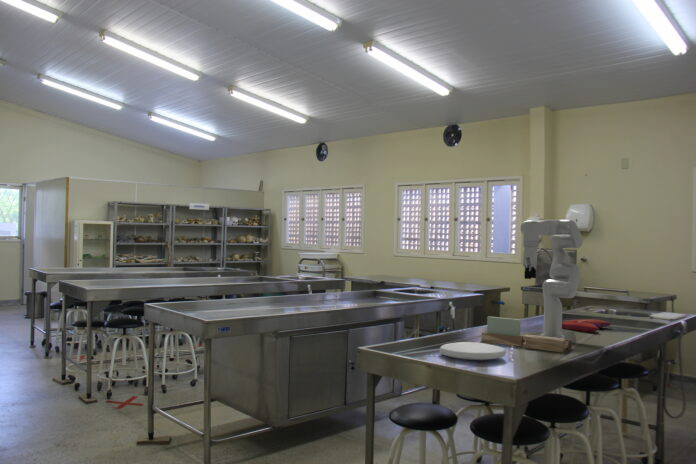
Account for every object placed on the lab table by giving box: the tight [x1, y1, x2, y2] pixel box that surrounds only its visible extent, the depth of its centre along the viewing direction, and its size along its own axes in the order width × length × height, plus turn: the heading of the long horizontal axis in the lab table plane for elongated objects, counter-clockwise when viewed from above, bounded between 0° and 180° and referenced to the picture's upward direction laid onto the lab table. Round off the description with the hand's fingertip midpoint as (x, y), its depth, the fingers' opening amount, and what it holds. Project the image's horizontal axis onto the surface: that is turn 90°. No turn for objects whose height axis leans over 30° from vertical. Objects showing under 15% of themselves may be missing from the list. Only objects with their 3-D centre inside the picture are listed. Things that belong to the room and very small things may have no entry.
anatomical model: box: [562, 318, 612, 333], centre depth 326 cm, size 30×7×30 cm
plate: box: [439, 341, 507, 361], centre depth 234 cm, size 28×6×27 cm
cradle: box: [479, 330, 526, 347], centre depth 265 cm, size 10×20×5 cm, turn 57°
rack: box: [522, 333, 573, 354], centre depth 254 cm, size 14×20×7 cm
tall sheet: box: [486, 316, 521, 337], centre depth 265 cm, size 2×16×12 cm, turn 57°
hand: (530, 278), depth 270 cm, fingers open, 9 cm apart
